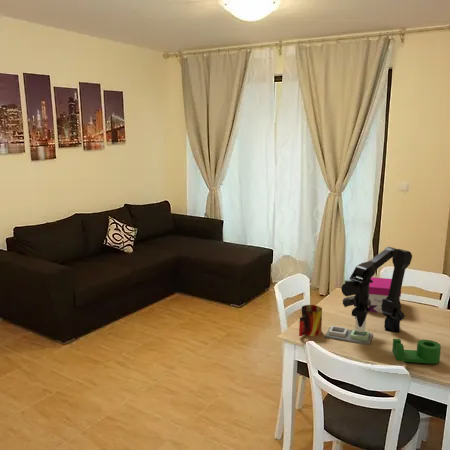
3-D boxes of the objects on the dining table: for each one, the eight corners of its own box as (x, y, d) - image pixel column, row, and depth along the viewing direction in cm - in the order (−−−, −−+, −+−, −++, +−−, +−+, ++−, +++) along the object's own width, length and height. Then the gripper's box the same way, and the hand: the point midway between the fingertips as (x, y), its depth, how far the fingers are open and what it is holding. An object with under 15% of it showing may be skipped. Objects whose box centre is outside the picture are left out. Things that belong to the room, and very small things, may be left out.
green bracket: (436, 354, 195) (437, 340, 194) (442, 364, 186) (443, 349, 185) (392, 351, 198) (393, 337, 197) (396, 361, 189) (397, 346, 188)
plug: (365, 329, 211) (366, 312, 210) (364, 332, 208) (365, 315, 206) (355, 327, 213) (356, 311, 212) (353, 330, 210) (354, 314, 208)
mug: (298, 338, 211) (299, 313, 209) (301, 327, 224) (302, 304, 222) (320, 340, 208) (321, 315, 206) (321, 329, 221) (322, 305, 219)
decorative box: (361, 313, 243) (362, 286, 240) (361, 301, 260) (363, 276, 258) (399, 317, 237) (401, 289, 234) (397, 305, 255) (398, 279, 252)
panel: (372, 335, 214) (372, 330, 214) (369, 345, 203) (369, 340, 203) (330, 328, 222) (330, 323, 222) (324, 337, 212) (325, 332, 211)
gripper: (347, 284, 219) (346, 315, 221) (340, 296, 202) (339, 329, 205) (371, 287, 214) (370, 319, 217) (366, 299, 198) (364, 333, 200)
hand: (360, 325), depth 210 cm, fingers closed on plug, 4 cm apart
